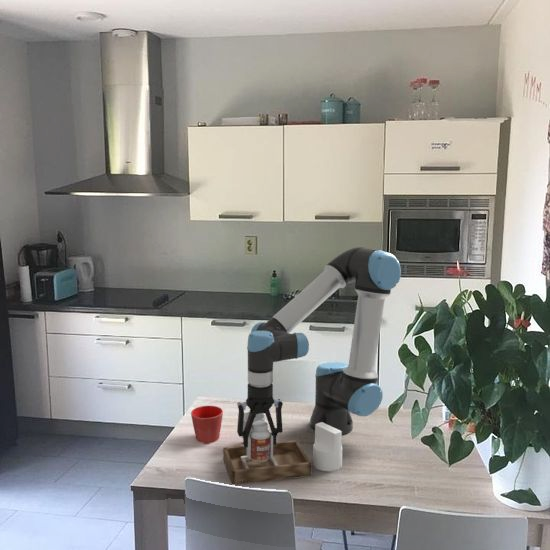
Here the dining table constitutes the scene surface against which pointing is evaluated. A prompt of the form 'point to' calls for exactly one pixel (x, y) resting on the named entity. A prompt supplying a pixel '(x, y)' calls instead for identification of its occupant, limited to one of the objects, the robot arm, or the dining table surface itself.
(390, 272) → the robot arm
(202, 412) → the flower pot
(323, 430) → the cylinder with rectangular tab
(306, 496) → the dining table surface
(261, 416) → the cup
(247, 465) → the box
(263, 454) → the pill bottle
